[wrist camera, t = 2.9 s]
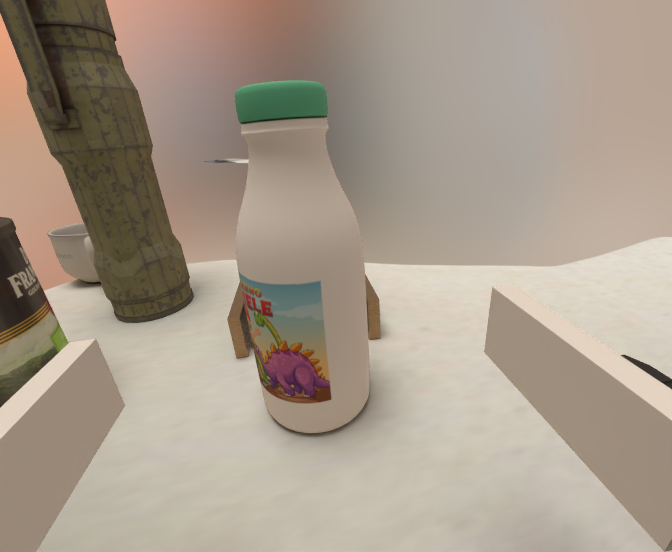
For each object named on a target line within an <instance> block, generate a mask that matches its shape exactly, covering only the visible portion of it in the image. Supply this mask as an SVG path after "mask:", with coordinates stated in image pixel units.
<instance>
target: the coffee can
mask: <svg viewBox="0 0 672 552" xmlns="http://www.w3.org/2000/svg"><path fill="white" fill-rule="evenodd" d="M15 230H16V227H15V225H14V223H13V221H12V219H10V218H4V217H0V408H1V407H2V406H3V405H4V404H5V403H6V402H7V401H8V400H9V399H10V398H11V397H12V396H13V395H14V394H15V393H16V392H18V391H19V390H20V389H21V388H22V387H23V386H24V385H25V384H26V383H27V382H28V381H29V380H30V379H31V378H32V377H33V376H35V375H36V374H37V373H38V372H39V371H40V370H41V369H42V368H43V367H44V366H45V365H46V364H47V363H48V362H49V361H51V360H52V359H53V358H54V357H55V356H56V355H57V354H58V353H59V352H60V351H61V350H62V349H63V348H64V347H65V346H66V345H68V344H69V343H68V341H67V339H66V337H65V335H64V333H63V331H62V329H61V327H60V325H59V322H58V320H57V318H56V316H55V314H54V312H53V310H52V308H51V306H50V304H49V301H48V299H47V297H46V295H45V293H44V291H43V289H42V287H41V285H40V283H39V281H38V279H37V276H36V274H35V272H34V270H33V269H32V266H31V264H30V262H29V259H28V258H27V256H26V253H25V252H24V249H23V248H22V246H21V243H20V241H19V239H18V237H17V235H16V232H15Z"/></svg>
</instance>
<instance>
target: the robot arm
mask: <svg viewBox="0 0 672 552" xmlns="http://www.w3.org/2000/svg"><path fill="white" fill-rule="evenodd" d="M484 352H485V353H486V355H487V356H488V357H489V358H490V359H491V360H492V361H493V362H494V363H495V364H496V366H497V367H498V368H499V369H500V370H501V371H502V372H503V373H504V374H505V376H506V377H507V378H508V379H509V380H510V381H511V382H512V383H513V384H514V386H515V387H516V388H517V389H518V390H519V391H520V392H521V393H522V394H523V396H524V397H525V398H526V399H527V400H528V401H529V402H530V403H531V404H532V405H533V407H534V408H535V409H536V410H537V411H538V412H539V413H540V414H541V415H542V417H543V418H544V419H545V420H546V421H547V422H548V423H549V424H550V425H551V427H552V428H553V429H554V430H555V431H556V432H557V433H558V434H559V435H560V436H561V438H562V439H563V440H564V441H565V442H566V443H567V444H568V445H569V446H570V448H571V449H572V450H573V451H574V452H575V453H576V454H577V455H578V456H579V458H580V459H581V460H582V461H583V462H584V463H585V464H586V465H587V466H588V468H589V469H590V470H591V471H592V472H593V473H594V474H595V475H596V476H597V477H598V479H599V480H600V481H601V482H602V483H603V484H604V485H605V486H606V487H607V489H608V490H609V491H610V492H611V493H612V494H613V495H614V496H615V497H616V499H617V500H618V501H619V502H620V503H621V504H622V505H623V506H624V507H625V509H626V510H627V511H628V512H629V513H630V514H631V515H632V516H633V517H634V518H635V520H636V521H637V522H638V523H639V524H640V525H641V526H642V527H643V528H644V530H645V531H646V532H647V533H648V534H649V535H650V536H651V537H652V538H653V540H654V541H655V542H656V543H657V544H658V545H659V546H660V547H661V548H662V549H663V551H664V552H665V551H669V550H672V379H670V378H669V377H667V376H666V375H664V374H663V373H661V372H659V371H658V370H656V369H655V368H653V367H652V366H650V365H647V364H645V363H643V362H640V361H638V360H636V359H633V358H631V357H629V356H626V355H619V354H618V353H616V352H614V351H613V350H611V349H610V348H608V347H607V346H605V345H604V344H602V343H601V342H599V341H598V340H596V339H595V338H593V337H592V336H590V335H589V334H587V333H586V332H584V331H583V330H581V329H580V328H578V327H577V326H575V325H574V324H572V323H571V322H569V321H568V320H566V319H565V318H563V317H562V316H560V315H559V314H557V313H556V312H554V311H553V310H551V309H550V308H548V307H547V306H545V305H544V304H542V303H541V302H539V301H538V300H536V299H534V298H533V297H531V296H530V295H528V294H527V293H525V292H524V291H522V290H521V289H519V288H518V287H516V286H515V285H513V284H512V285H504V286H496V287H492V294H491V302H490V310H489V318H488V326H487V334H486V343H485V351H484ZM124 406H125V404H124V402H123V400H122V398H121V395H120V393H119V391H118V388H117V386H116V384H115V381H114V379H113V377H112V375H111V372H110V370H109V368H108V365H107V363H106V361H105V358H104V356H103V354H102V352H101V349H100V347H99V345H98V342H97V340H96V339H90V340H83V341H75V342H70V343H69V344H68V345H66V346H65V347H64V348H63V349H62V350H61V351H60V352H59V353H58V354H57V355H56V356H55V357H54V358H53V359H52V360H51V361H49V362H48V363H47V364H46V365H45V366H44V367H43V368H42V369H41V370H40V371H39V372H38V373H37V374H36V375H35V376H33V377H32V378H31V379H30V380H29V381H28V382H27V383H26V384H25V385H24V386H23V387H22V388H21V389H20V390H19V391H18V392H16V393H15V394H14V395H13V396H12V397H11V398H10V399H9V400H8V401H7V402H6V403H5V404H4V405H3V406H2V407H1V408H0V552H36V551H37V549H38V547H39V546H40V544H41V542H42V541H43V539H44V537H45V536H46V534H47V533H48V531H49V529H50V528H51V526H52V524H53V523H54V521H55V519H56V518H57V516H58V514H59V513H60V511H61V510H62V508H63V506H64V505H65V503H66V501H67V500H68V498H69V496H70V495H71V493H72V492H73V490H74V488H75V487H76V485H77V483H78V482H79V480H80V478H81V477H82V475H83V473H84V472H85V470H86V469H87V467H88V465H89V464H90V462H91V460H92V459H93V457H94V455H95V454H96V452H97V450H98V449H99V447H100V446H101V444H102V442H103V441H104V439H105V437H106V436H107V434H108V432H109V431H110V429H111V428H112V426H113V424H114V423H115V421H116V419H117V418H118V416H119V414H120V413H121V411H122V409H123V408H124Z"/></svg>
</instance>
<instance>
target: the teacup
mask: <svg viewBox="0 0 672 552" xmlns="http://www.w3.org/2000/svg"><path fill="white" fill-rule="evenodd" d="M47 234H48V236H49V237H50V239H51V242H52V244H53V247H54V250H55V253H56V255H57V258H58V260H59V262H60V264H61V266H62V268H63V269H64V271H65V272H66V273H68V274H69V275H71V276H73V277H76V278H79V279H81V280H83V281H86V282H100V279H99V277H98V274H97V272H96V269H95V267H94V248H93V245H92V242H91V240H90V237H89V235H88V232H87V229H86V227H85V224H84V223H78V224H73V225H68V226H64V227H60V228H57V229H54V230H51V231H49V232H48V233H47Z"/></svg>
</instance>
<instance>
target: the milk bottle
mask: <svg viewBox="0 0 672 552" xmlns="http://www.w3.org/2000/svg"><path fill="white" fill-rule="evenodd" d="M235 103H236V110H237V114H238V119H239V122H240V123H241V124H242V125H241V129H242V133H241V135H242V136H243V137H245V138H246V141H247V144H248V151H249V165H248V177H247V184H246V189H245V194H244V198H243V202H242V206H241V210H240V214H239V218H238V223H237V230H236V256H237V265H238V271H239V277H240V283H241V289H242V294H243V299H244V304H245V309H246V314H247V319H248V324H249V329H250V334H251V339H252V344H253V349H254V353H255V358H256V363H257V368H258V372H259V377H260V382H261V386H262V391H263V395H264V399H265V403H266V406H267V409H268V411H269V413H270V414H271V415H272V416H273V418H274V419H275V420H276V421H278V422H279V423H280V424H281V425H283V426H285V427H286V428H288V429H291V430H294V431H296V432H303V433H321V432H327V431H331V430H334V429H336V428H339V427H341V426H343V425H345V424H347V423H349V422H350V421H351V420H352V419H353V418H355V417H356V416H357V415H358V414H359V412H360V411H361V410H362V409H363V407H364V405H365V403H366V401H367V399H368V396H369V392H370V370H369V346H368V323H367V303H366V285H365V268H364V257H363V246H362V241H361V235H360V230H359V226H358V223H357V220H356V217H355V214H354V212H353V209H352V208H351V205H350V203H349V201H348V199H347V198H346V196H345V194H344V192H343V190H342V188H341V186H340V184H339V182H338V180H337V177H336V175H335V173H334V170H333V167H332V165H331V162H330V159H329V155H328V152H327V148H326V141H325V133H326V131H327V130H328V129H329V126H328V125H327V119H326V118H324V117H327V114H328V106H327V96H326V90H325V87H324V86H323V85H322V84H321V83H317V82H313V81H275V82H265V83H258V84H252V85H248V86H244V87H242V88H239V89H238V90H237V91H236V92H235Z"/></svg>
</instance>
